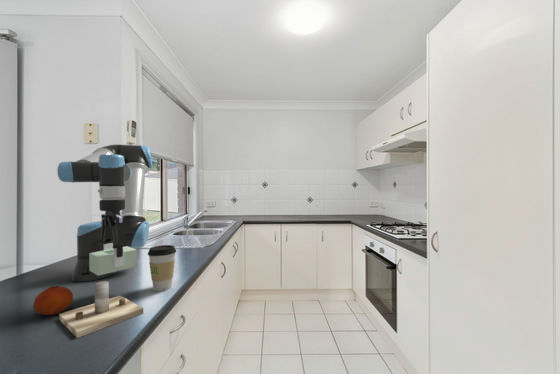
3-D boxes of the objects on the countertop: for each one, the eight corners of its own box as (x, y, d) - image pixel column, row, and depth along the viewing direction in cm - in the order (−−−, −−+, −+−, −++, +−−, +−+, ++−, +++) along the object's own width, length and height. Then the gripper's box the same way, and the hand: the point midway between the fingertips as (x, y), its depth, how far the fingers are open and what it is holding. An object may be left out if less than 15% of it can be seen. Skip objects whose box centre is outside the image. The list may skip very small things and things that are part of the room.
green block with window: (98, 275, 84) (97, 257, 84) (89, 270, 89) (89, 253, 89) (136, 266, 94) (136, 249, 94) (127, 262, 99) (127, 246, 99)
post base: (59, 319, 74) (58, 285, 74) (120, 300, 87) (120, 271, 87) (77, 338, 65) (76, 299, 65) (143, 313, 77) (143, 281, 77)
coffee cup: (154, 283, 102) (153, 245, 102) (180, 282, 103) (179, 244, 103) (143, 293, 92) (142, 251, 92) (171, 292, 93) (171, 250, 93)
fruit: (80, 307, 82) (80, 281, 82) (49, 321, 73) (49, 292, 73) (58, 305, 84) (58, 280, 84) (26, 318, 75) (25, 290, 75)
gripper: (89, 198, 94) (90, 261, 95) (112, 200, 82) (113, 272, 82) (112, 197, 100) (113, 256, 101) (137, 199, 88) (138, 266, 88)
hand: (113, 263), depth 91 cm, fingers closed on green block with window, 8 cm apart
